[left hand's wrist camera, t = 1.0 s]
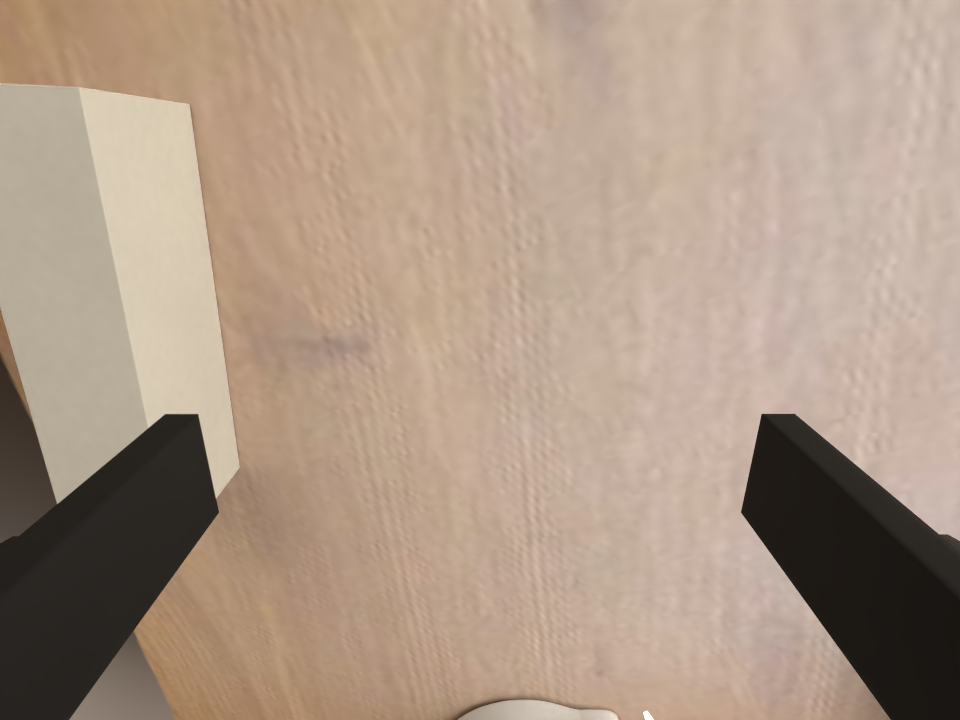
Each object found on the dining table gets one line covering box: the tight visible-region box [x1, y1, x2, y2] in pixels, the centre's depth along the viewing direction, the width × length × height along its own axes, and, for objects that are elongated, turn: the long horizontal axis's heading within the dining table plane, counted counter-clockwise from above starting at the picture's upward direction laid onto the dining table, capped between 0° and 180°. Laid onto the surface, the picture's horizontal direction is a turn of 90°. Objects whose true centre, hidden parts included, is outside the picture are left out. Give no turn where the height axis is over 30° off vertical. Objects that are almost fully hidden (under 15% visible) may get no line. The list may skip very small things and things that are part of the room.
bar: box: [0, 83, 240, 504], centre depth 28 cm, size 22×6×8 cm, turn 178°
